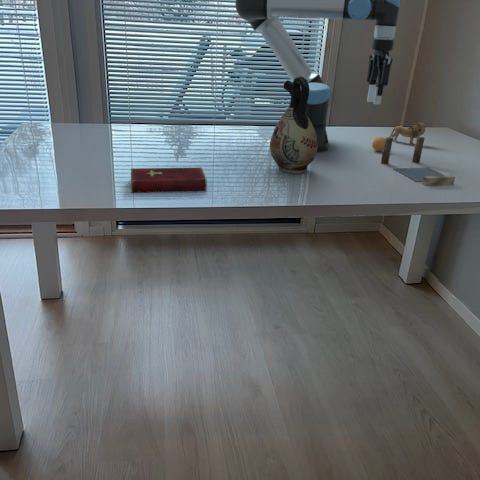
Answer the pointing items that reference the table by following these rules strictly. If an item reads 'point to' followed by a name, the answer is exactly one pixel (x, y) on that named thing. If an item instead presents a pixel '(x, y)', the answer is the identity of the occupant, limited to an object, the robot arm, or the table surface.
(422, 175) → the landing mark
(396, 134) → the lion figurine
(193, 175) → the hardcover book
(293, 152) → the ceramic jug
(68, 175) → the table surface
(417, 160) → the right post
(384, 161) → the left post
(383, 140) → the ball
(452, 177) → the rail
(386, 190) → the table surface
